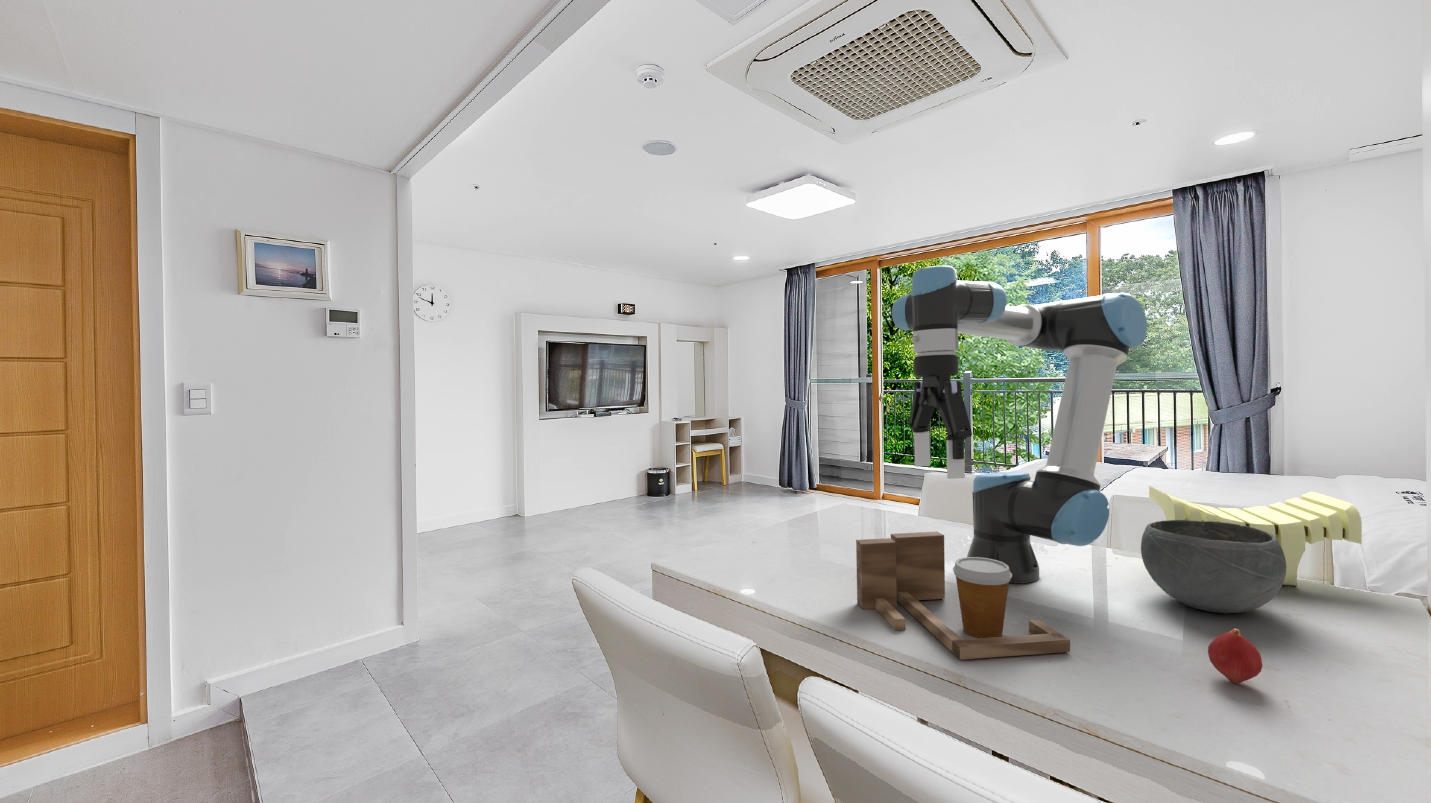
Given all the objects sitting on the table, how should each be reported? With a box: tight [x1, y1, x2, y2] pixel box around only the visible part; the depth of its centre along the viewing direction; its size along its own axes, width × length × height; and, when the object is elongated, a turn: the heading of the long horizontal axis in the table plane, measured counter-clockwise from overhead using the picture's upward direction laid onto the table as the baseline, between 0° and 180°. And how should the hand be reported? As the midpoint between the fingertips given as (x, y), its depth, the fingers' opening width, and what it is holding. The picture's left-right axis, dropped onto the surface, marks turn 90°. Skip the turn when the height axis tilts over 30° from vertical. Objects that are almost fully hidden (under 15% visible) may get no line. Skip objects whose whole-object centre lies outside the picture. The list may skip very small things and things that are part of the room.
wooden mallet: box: [855, 537, 906, 631], centre depth 108 cm, size 13×7×13 cm, turn 5°
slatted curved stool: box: [1148, 485, 1363, 587], centre depth 125 cm, size 30×16×18 cm, turn 69°
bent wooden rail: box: [890, 530, 1071, 661], centre depth 104 cm, size 27×19×13 cm
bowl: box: [1140, 519, 1286, 614], centre depth 109 cm, size 21×21×15 cm
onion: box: [1207, 628, 1263, 685], centre depth 82 cm, size 6×6×8 cm
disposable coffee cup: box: [952, 556, 1012, 638], centre depth 101 cm, size 10×10×12 cm
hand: (938, 471), depth 103 cm, fingers open, 13 cm apart
